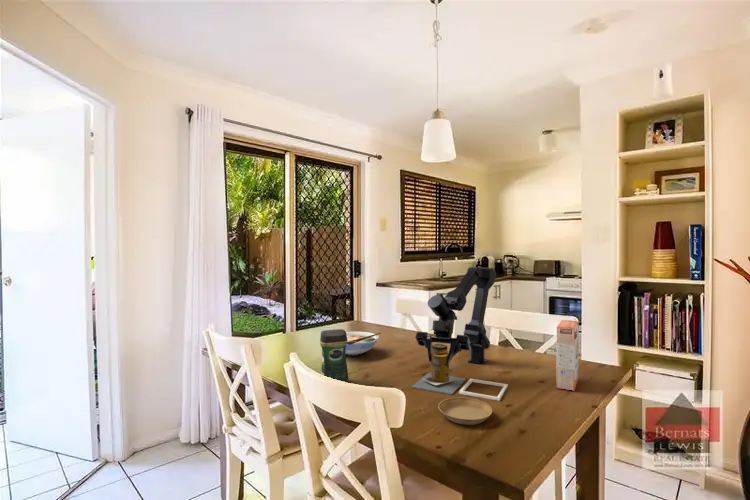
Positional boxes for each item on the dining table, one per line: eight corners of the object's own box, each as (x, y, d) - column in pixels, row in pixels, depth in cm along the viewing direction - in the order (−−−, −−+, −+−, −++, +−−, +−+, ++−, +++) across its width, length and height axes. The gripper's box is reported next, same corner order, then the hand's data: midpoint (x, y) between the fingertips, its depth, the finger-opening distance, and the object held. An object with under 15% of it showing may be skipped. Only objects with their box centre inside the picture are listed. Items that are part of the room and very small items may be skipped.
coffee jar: (345, 377, 142) (344, 326, 141) (350, 384, 134) (349, 331, 134) (318, 380, 139) (318, 328, 139) (322, 388, 131) (321, 333, 131)
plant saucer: (503, 425, 103) (502, 415, 103) (451, 431, 100) (450, 421, 100) (476, 404, 117) (476, 395, 117) (430, 408, 114) (430, 399, 114)
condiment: (454, 380, 134) (453, 346, 134) (435, 385, 129) (435, 349, 129) (440, 375, 140) (439, 342, 140) (421, 380, 135) (421, 345, 135)
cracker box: (576, 392, 125) (575, 327, 125) (555, 388, 128) (555, 325, 128) (579, 379, 137) (579, 320, 137) (560, 376, 140) (560, 319, 140)
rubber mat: (428, 373, 145) (428, 372, 145) (465, 379, 138) (465, 378, 138) (411, 387, 131) (411, 386, 131) (451, 395, 124) (451, 393, 124)
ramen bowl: (351, 344, 190) (351, 327, 190) (390, 351, 177) (390, 333, 177) (315, 355, 170) (315, 337, 170) (356, 364, 157) (356, 344, 157)
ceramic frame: (470, 380, 137) (470, 378, 137) (507, 386, 131) (507, 384, 131) (459, 393, 125) (459, 391, 125) (499, 400, 119) (499, 398, 119)
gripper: (416, 309, 141) (406, 347, 132) (468, 312, 134) (462, 352, 124) (423, 326, 149) (414, 363, 139) (472, 330, 141) (467, 369, 131)
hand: (438, 362), depth 133 cm, fingers closed on condiment, 6 cm apart
